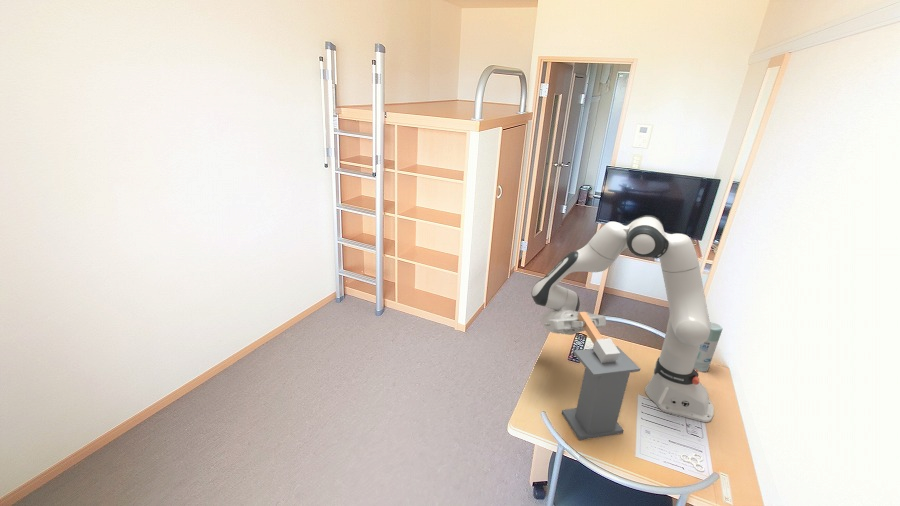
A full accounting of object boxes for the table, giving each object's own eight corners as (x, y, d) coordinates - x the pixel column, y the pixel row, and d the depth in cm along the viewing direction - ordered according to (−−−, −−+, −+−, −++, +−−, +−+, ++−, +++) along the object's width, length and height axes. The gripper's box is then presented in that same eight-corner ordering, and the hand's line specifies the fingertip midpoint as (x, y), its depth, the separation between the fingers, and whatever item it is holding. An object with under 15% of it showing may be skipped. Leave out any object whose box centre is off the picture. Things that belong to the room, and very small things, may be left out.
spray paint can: (711, 371, 170) (726, 329, 162) (698, 373, 168) (713, 331, 161) (699, 361, 175) (713, 321, 168) (686, 363, 174) (700, 322, 166)
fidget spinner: (698, 454, 130) (699, 452, 130) (712, 472, 124) (713, 470, 124) (677, 455, 129) (678, 453, 129) (690, 473, 123) (691, 471, 123)
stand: (561, 413, 143) (573, 350, 133) (602, 407, 147) (617, 346, 137) (579, 440, 132) (593, 374, 123) (622, 433, 136) (640, 368, 126)
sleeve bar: (573, 317, 143) (577, 309, 141) (586, 316, 144) (590, 308, 142) (601, 363, 128) (605, 354, 126) (615, 361, 129) (620, 353, 127)
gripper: (541, 315, 150) (559, 316, 136) (591, 311, 154) (614, 312, 141) (543, 333, 149) (561, 335, 136) (593, 328, 154) (616, 330, 140)
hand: (589, 323), depth 138 cm, fingers closed on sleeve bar, 2 cm apart
